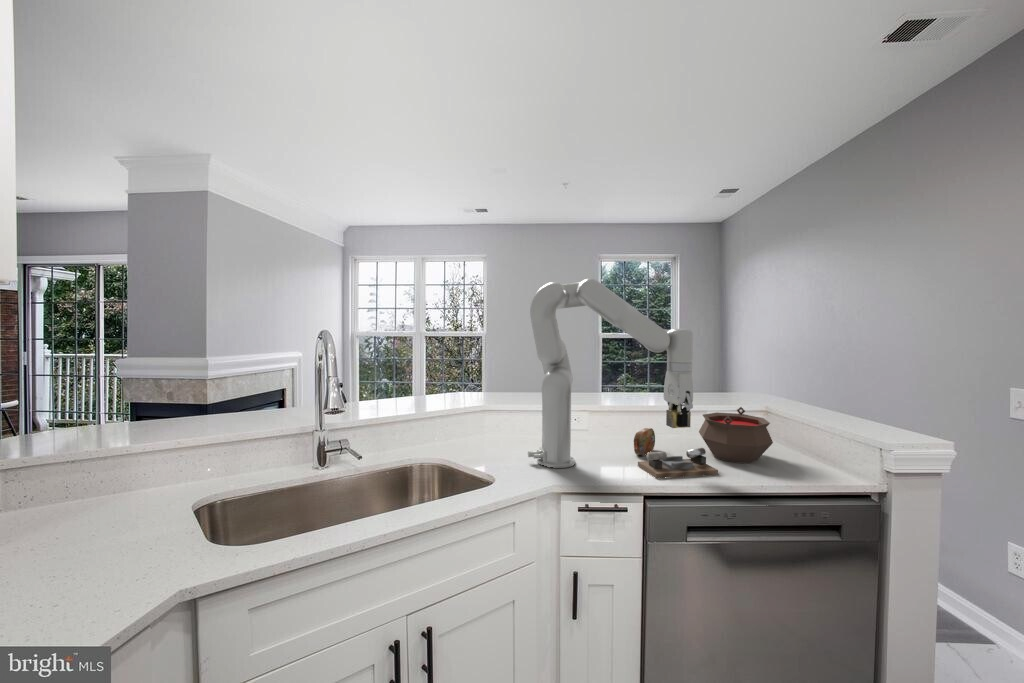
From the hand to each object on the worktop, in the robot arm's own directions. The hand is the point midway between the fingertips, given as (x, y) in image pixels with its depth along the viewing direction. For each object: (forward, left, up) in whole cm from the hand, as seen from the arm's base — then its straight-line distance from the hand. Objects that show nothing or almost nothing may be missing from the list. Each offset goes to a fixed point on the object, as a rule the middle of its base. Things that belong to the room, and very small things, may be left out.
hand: (678, 424), depth 144 cm
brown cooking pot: (+28, +10, -15) cm, 33 cm away
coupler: (0, 0, -1) cm, 1 cm away
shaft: (+7, +1, -13) cm, 15 cm away
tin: (-1, +20, -15) cm, 25 cm away
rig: (0, 0, -15) cm, 15 cm away
